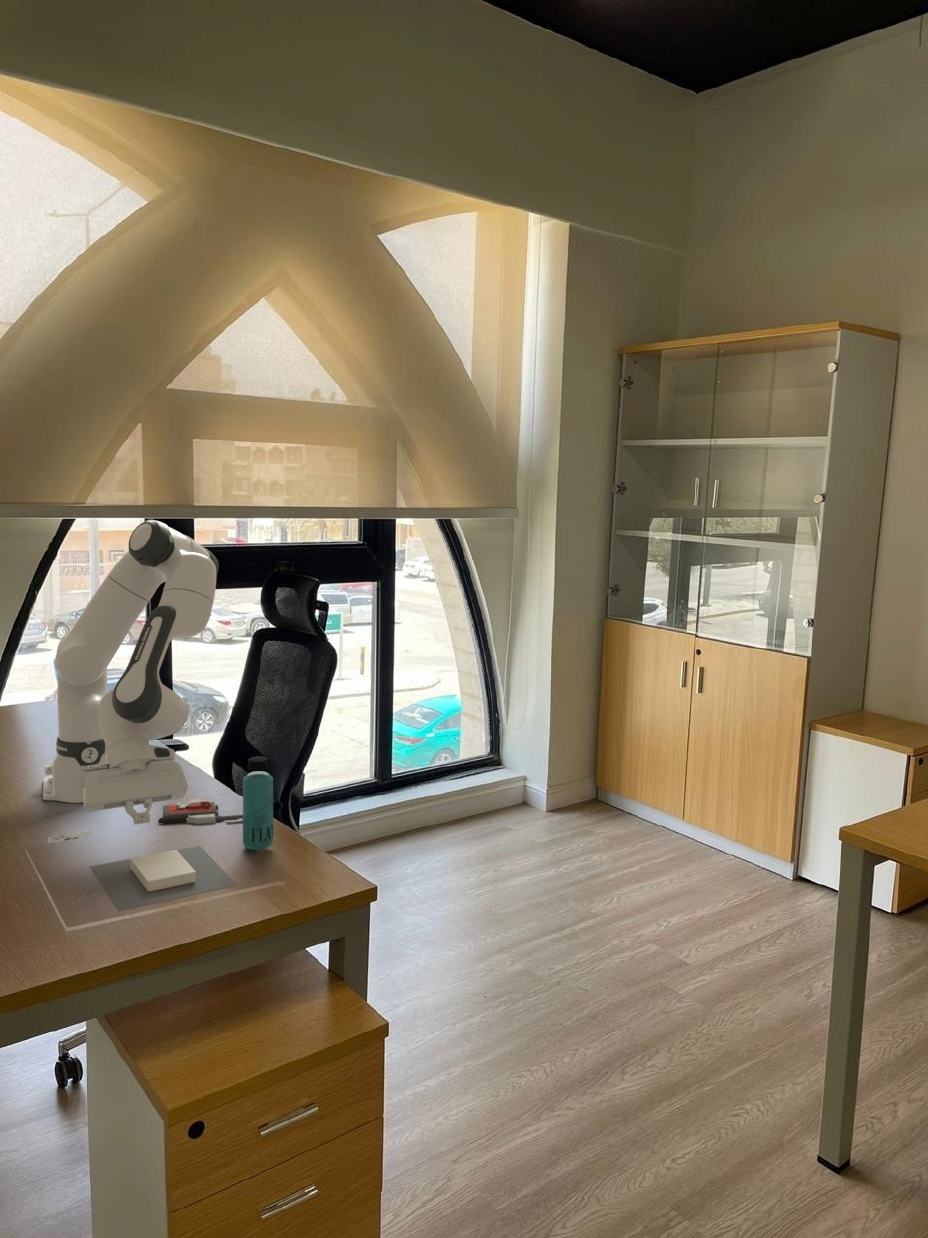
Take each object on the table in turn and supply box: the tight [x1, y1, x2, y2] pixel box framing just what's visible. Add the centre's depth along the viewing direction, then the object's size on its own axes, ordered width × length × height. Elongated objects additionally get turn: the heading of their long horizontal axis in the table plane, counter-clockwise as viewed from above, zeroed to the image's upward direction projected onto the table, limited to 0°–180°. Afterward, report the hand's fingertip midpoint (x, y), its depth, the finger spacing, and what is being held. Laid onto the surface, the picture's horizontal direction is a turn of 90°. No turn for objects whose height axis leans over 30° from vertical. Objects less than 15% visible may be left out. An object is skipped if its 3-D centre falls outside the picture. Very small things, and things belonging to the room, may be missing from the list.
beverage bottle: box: [242, 755, 275, 850], centre depth 201 cm, size 6×7×20 cm
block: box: [130, 849, 196, 892], centre depth 187 cm, size 2×9×12 cm
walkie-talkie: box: [157, 798, 243, 825], centre depth 219 cm, size 9×4×20 cm
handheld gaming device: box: [47, 831, 93, 844], centre depth 201 cm, size 9×1×15 cm
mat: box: [89, 845, 238, 912], centre depth 187 cm, size 22×22×1 cm
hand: (142, 822), depth 193 cm, fingers closed
